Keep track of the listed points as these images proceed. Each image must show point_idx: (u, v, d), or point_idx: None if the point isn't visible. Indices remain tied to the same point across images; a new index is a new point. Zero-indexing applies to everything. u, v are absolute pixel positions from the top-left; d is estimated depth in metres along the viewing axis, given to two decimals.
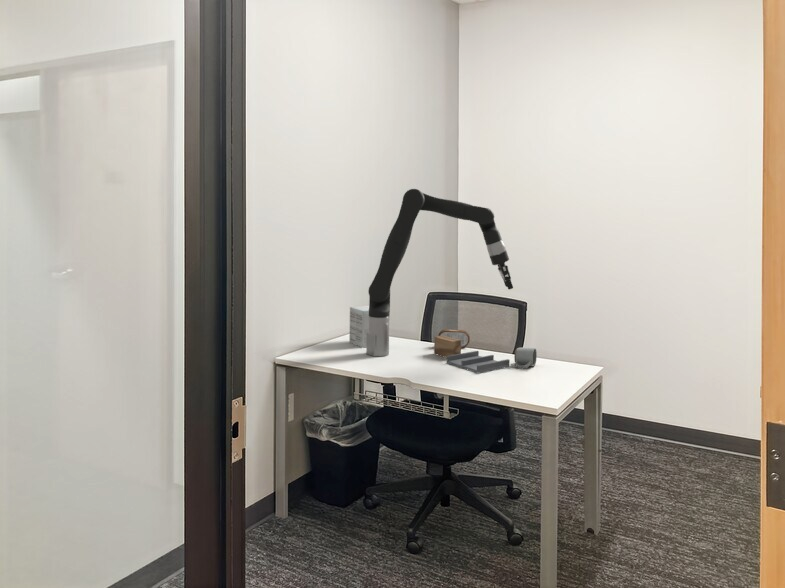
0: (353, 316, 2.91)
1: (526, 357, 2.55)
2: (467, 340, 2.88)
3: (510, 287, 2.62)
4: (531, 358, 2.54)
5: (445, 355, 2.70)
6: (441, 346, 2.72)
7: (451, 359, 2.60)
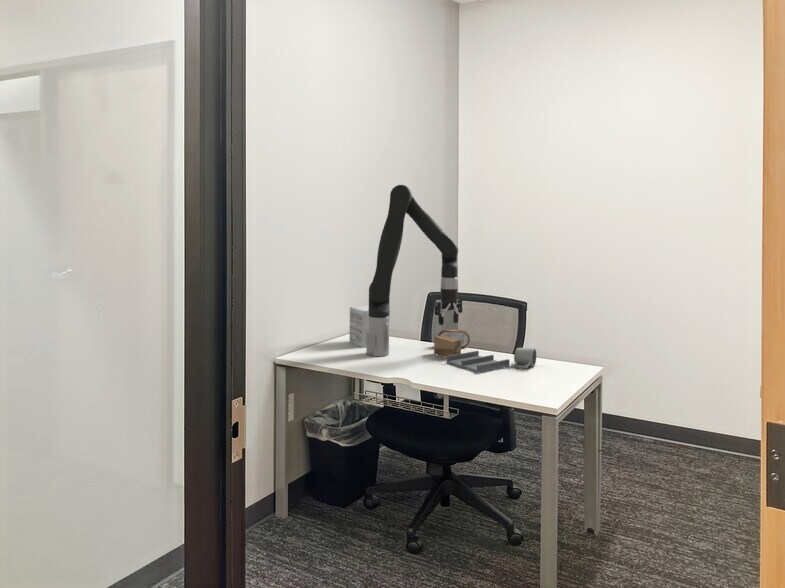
0: (353, 316, 2.91)
1: (526, 357, 2.55)
2: (467, 340, 2.88)
3: (439, 323, 2.68)
4: (531, 358, 2.54)
5: (445, 355, 2.70)
6: (441, 346, 2.72)
7: (451, 359, 2.60)
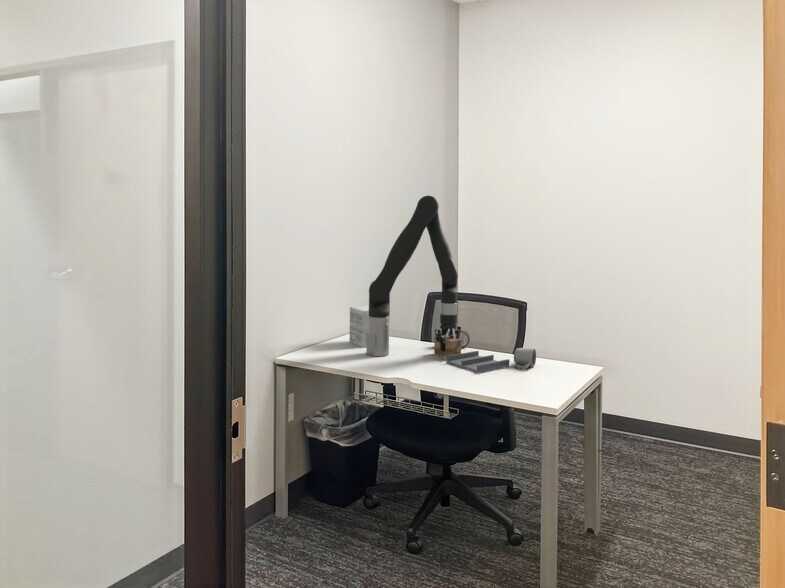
0: (353, 316, 2.91)
1: (525, 358, 2.54)
2: (467, 340, 2.88)
3: (441, 349, 2.71)
4: (530, 359, 2.53)
5: (445, 355, 2.70)
6: None
7: (451, 359, 2.60)
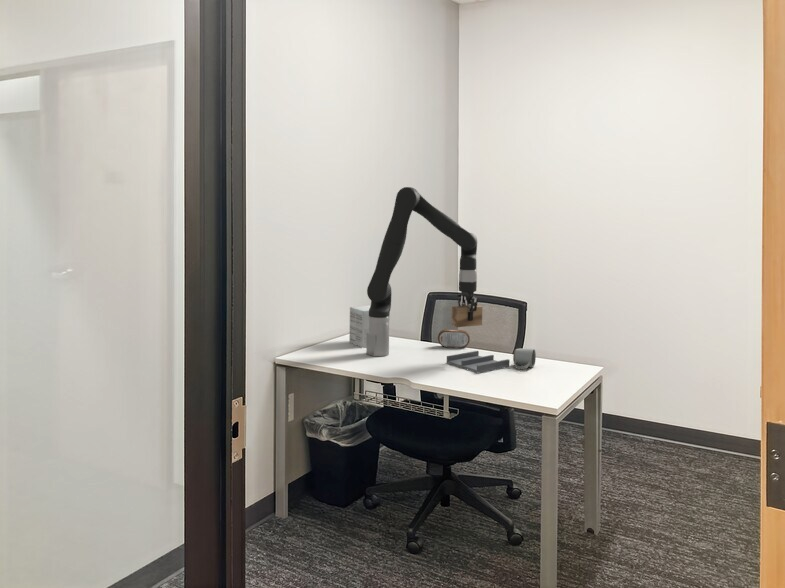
0: (353, 316, 2.91)
1: (525, 358, 2.54)
2: (467, 340, 2.88)
3: (471, 319, 2.60)
4: (530, 359, 2.53)
5: (473, 323, 2.62)
6: None
7: (451, 359, 2.60)
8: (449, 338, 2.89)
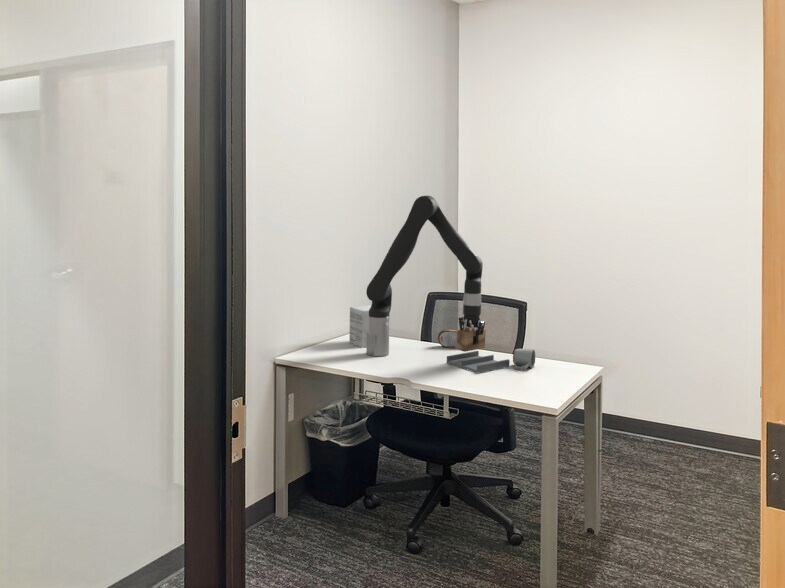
0: (353, 316, 2.91)
1: (525, 358, 2.53)
2: None
3: (477, 343, 2.58)
4: (530, 359, 2.52)
5: (477, 347, 2.60)
6: None
7: (451, 359, 2.60)
8: (449, 338, 2.89)
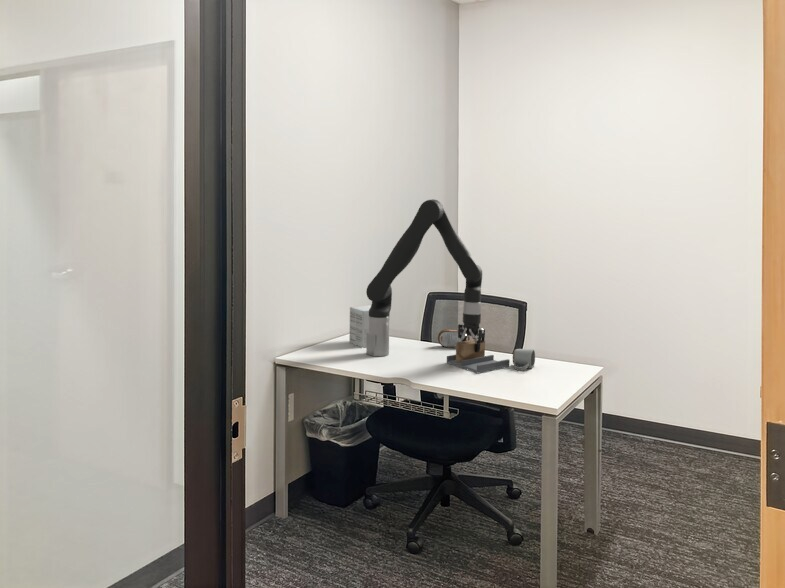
0: (353, 316, 2.91)
1: (524, 358, 2.53)
2: (467, 340, 2.88)
3: (478, 350, 2.57)
4: (529, 360, 2.52)
5: None
6: (472, 351, 2.59)
7: (451, 359, 2.60)
8: (449, 338, 2.89)
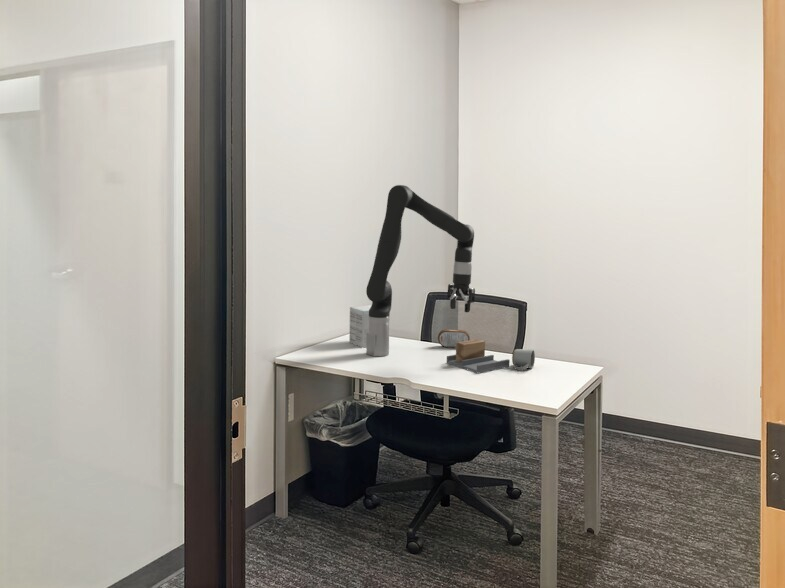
0: (353, 316, 2.91)
1: (524, 359, 2.52)
2: (467, 340, 2.88)
3: (468, 310, 2.56)
4: (529, 360, 2.51)
5: None
6: (472, 351, 2.59)
7: (451, 359, 2.60)
8: (449, 338, 2.89)
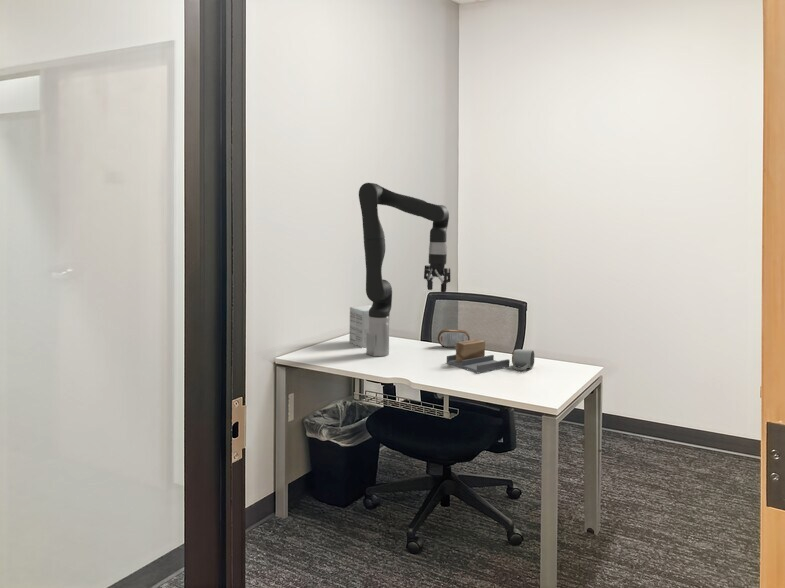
0: (353, 316, 2.91)
1: (524, 359, 2.52)
2: (467, 340, 2.88)
3: (444, 290, 2.56)
4: (529, 360, 2.51)
5: None
6: (472, 351, 2.59)
7: (451, 359, 2.60)
8: (449, 338, 2.89)
